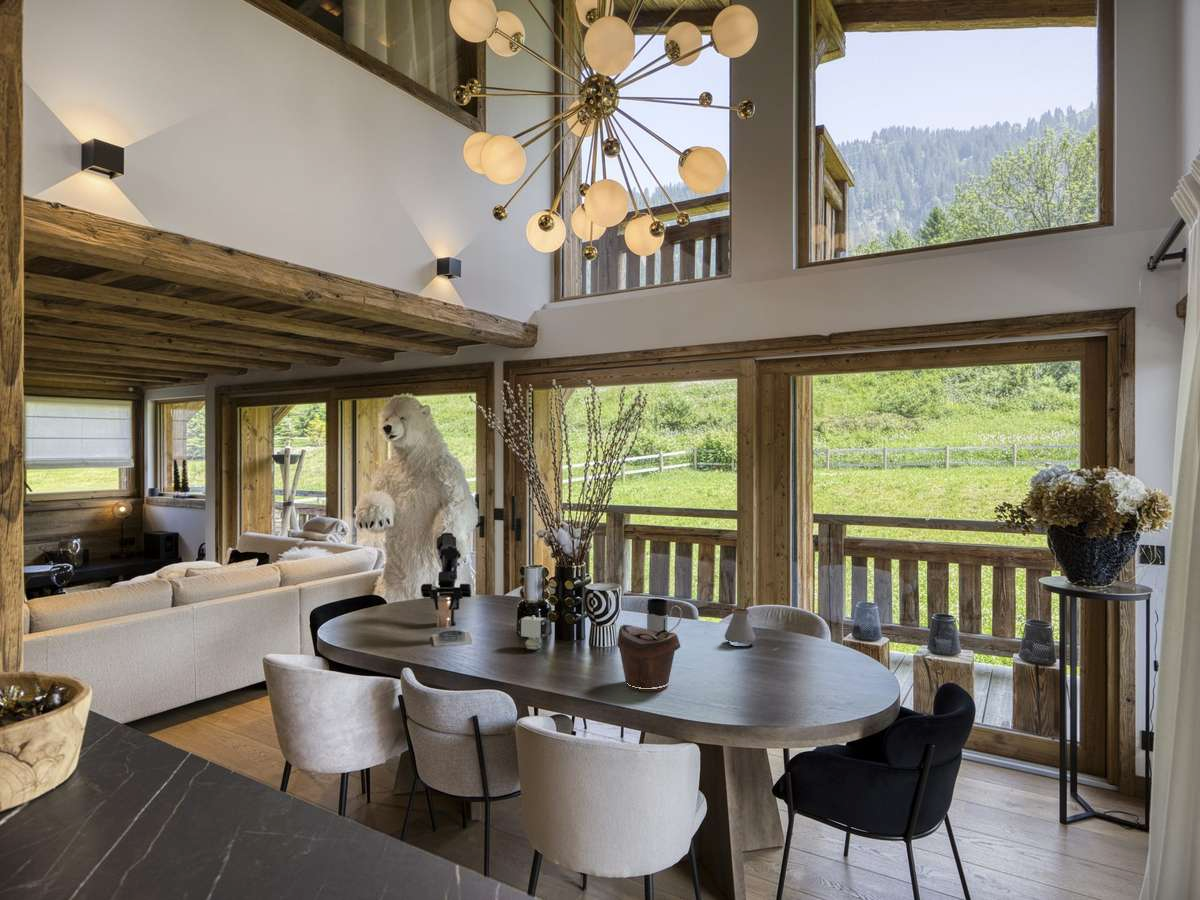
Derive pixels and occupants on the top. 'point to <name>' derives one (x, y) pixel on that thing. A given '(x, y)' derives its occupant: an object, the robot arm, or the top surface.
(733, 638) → the coffee pot
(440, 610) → the copper cylindrical jar
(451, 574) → the robot arm
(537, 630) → the pneumatic valve
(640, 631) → the brown flower pot
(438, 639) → the duct collar plate
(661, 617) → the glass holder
